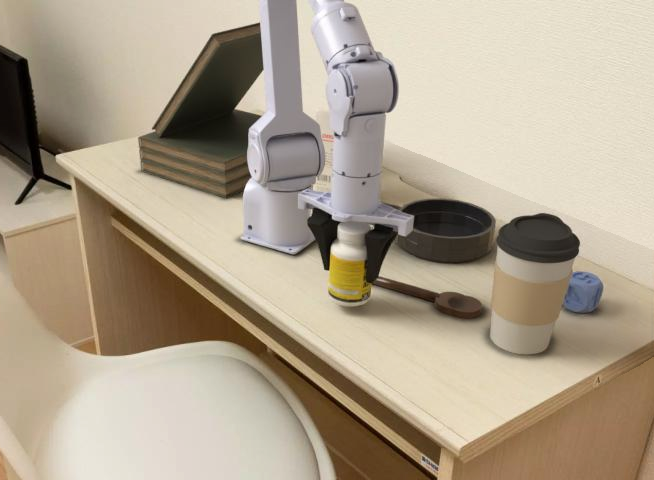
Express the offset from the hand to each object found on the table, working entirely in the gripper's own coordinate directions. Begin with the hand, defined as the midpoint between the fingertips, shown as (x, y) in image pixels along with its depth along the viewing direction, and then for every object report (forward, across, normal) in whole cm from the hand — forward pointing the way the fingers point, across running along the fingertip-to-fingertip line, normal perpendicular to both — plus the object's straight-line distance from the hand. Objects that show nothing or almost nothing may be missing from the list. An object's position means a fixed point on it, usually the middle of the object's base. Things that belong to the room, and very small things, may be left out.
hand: (350, 273), depth 99 cm
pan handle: (+3, -8, +24) cm, 25 cm away
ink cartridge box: (+5, -18, +31) cm, 36 cm away
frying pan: (+5, +3, +24) cm, 25 cm away
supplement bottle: (+4, 0, 0) cm, 4 cm away
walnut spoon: (+5, +6, +7) cm, 10 cm away
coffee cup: (+5, +21, +4) cm, 22 cm away
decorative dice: (+5, +25, +16) cm, 30 cm away
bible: (+5, -42, +32) cm, 53 cm away
